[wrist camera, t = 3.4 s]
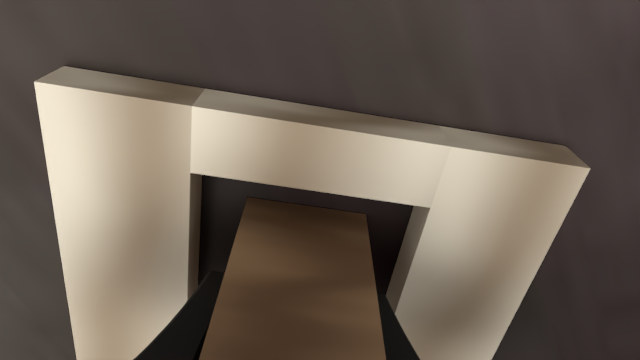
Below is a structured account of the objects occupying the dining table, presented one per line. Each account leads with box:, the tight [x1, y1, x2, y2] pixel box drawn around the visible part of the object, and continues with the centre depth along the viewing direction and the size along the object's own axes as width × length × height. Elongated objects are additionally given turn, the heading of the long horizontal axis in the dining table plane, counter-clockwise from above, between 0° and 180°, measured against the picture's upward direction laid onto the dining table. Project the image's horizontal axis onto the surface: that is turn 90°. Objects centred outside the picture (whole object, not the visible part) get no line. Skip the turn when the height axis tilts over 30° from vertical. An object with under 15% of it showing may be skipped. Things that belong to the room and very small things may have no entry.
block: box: [199, 197, 386, 360], centre depth 13 cm, size 4×4×7 cm
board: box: [34, 66, 590, 360], centre depth 17 cm, size 15×20×2 cm
